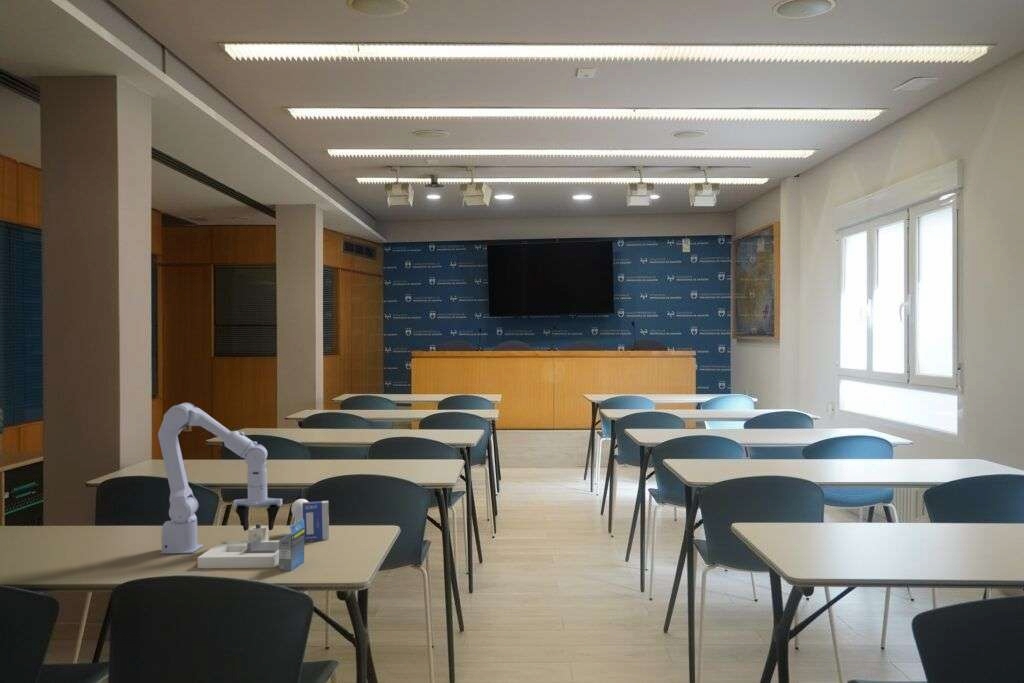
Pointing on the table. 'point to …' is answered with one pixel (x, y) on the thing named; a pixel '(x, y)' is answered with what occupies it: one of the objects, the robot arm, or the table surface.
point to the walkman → (316, 520)
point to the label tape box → (292, 548)
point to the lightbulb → (298, 510)
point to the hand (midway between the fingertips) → (258, 529)
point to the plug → (258, 532)
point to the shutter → (261, 546)
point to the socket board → (236, 556)
